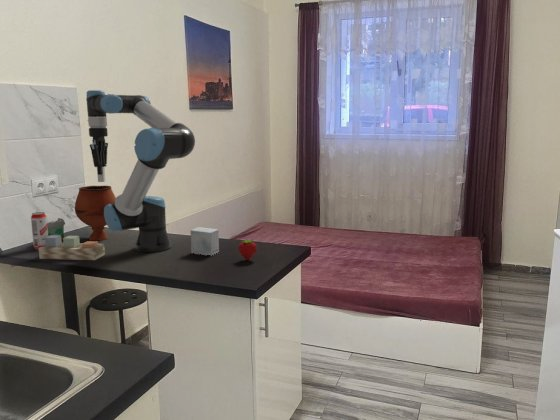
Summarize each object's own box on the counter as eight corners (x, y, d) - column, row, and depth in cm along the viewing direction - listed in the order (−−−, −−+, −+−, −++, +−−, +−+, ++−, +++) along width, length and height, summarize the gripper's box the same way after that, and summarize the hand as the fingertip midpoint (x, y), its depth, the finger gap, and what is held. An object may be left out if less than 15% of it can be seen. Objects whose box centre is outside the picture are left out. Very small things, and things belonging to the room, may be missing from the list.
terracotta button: (98, 250, 211) (97, 241, 210) (93, 253, 206) (92, 244, 205) (88, 250, 211) (87, 241, 210) (82, 253, 207) (81, 243, 206)
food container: (55, 245, 227) (53, 224, 225) (43, 244, 228) (41, 223, 226) (72, 239, 239) (70, 218, 237) (60, 238, 240) (58, 218, 238)
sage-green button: (79, 245, 211) (79, 235, 210) (74, 248, 207) (73, 238, 206) (69, 244, 211) (68, 235, 211) (63, 247, 207) (63, 238, 206)
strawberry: (257, 262, 202) (257, 238, 200) (238, 262, 201) (238, 238, 199) (256, 258, 207) (256, 234, 205) (238, 258, 206) (237, 235, 205)
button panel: (104, 254, 213) (104, 243, 212) (95, 260, 204) (94, 249, 203) (51, 252, 215) (50, 242, 215) (39, 258, 207) (38, 248, 206)
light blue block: (61, 244, 212) (61, 235, 211) (56, 247, 207) (55, 238, 207) (51, 244, 212) (50, 235, 212) (45, 247, 208) (44, 237, 207)
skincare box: (190, 253, 214) (189, 229, 212) (199, 250, 220) (198, 226, 218) (211, 256, 210) (210, 232, 208) (219, 252, 216) (219, 228, 214)
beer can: (30, 249, 220) (27, 214, 217) (40, 246, 226) (37, 211, 223) (42, 250, 218) (39, 214, 215) (52, 247, 224) (49, 212, 221)
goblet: (128, 236, 243) (125, 185, 238) (95, 245, 227) (91, 191, 222) (102, 232, 253) (98, 183, 248) (68, 240, 237) (64, 187, 232)
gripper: (96, 126, 222) (100, 179, 226) (82, 127, 209) (86, 183, 214) (112, 126, 221) (116, 179, 226) (99, 127, 209) (103, 183, 213)
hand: (101, 181), depth 220 cm, fingers closed
